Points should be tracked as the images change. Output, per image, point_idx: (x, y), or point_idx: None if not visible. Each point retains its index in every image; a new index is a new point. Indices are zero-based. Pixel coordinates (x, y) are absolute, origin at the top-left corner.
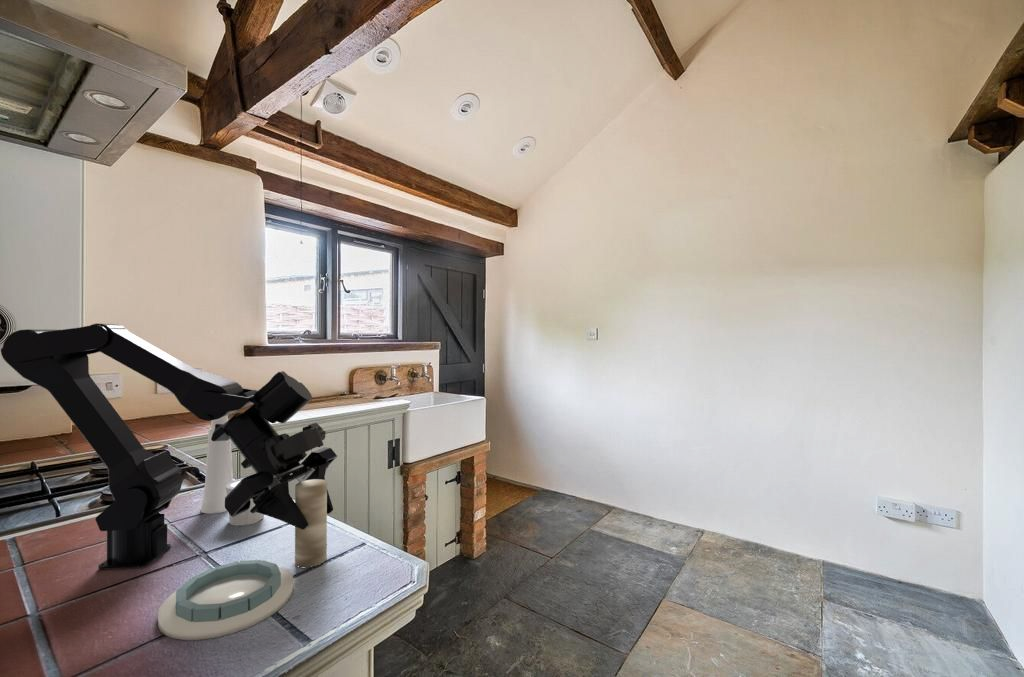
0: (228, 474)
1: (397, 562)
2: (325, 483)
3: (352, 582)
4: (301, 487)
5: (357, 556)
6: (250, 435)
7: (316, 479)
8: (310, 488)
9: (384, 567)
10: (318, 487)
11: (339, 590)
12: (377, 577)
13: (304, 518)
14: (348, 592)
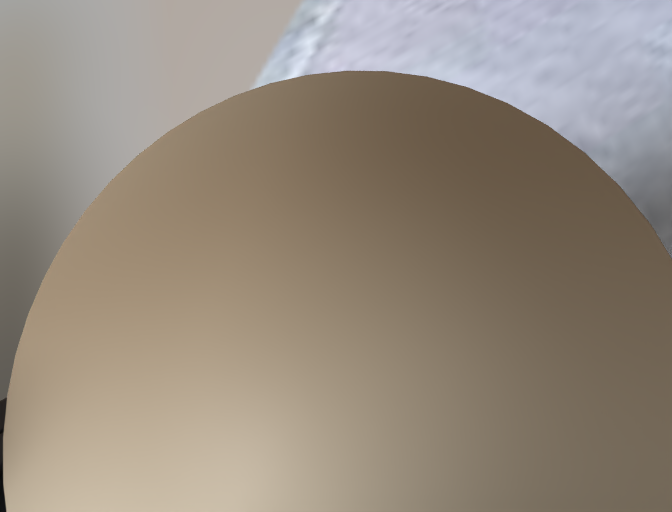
0: None
1: (358, 6)
2: (233, 113)
3: (570, 79)
4: (621, 481)
5: None
6: None
7: (21, 457)
8: (608, 196)
9: (410, 30)
10: (470, 94)
11: (655, 90)
12: (497, 9)
13: None
14: (654, 46)
